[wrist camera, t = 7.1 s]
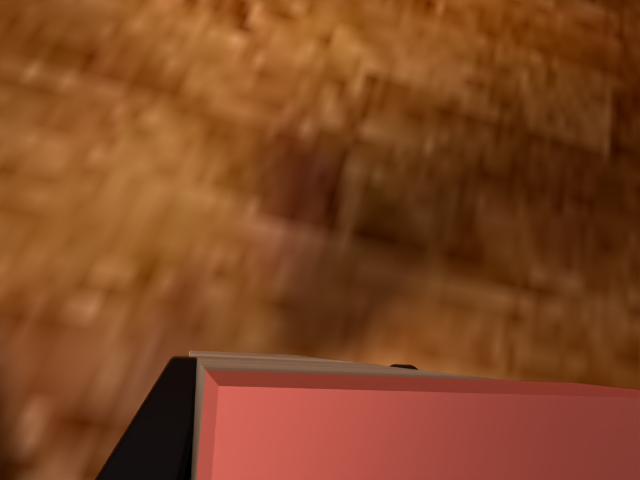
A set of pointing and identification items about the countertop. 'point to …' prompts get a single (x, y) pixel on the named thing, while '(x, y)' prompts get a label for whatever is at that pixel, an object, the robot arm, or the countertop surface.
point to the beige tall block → (402, 424)
